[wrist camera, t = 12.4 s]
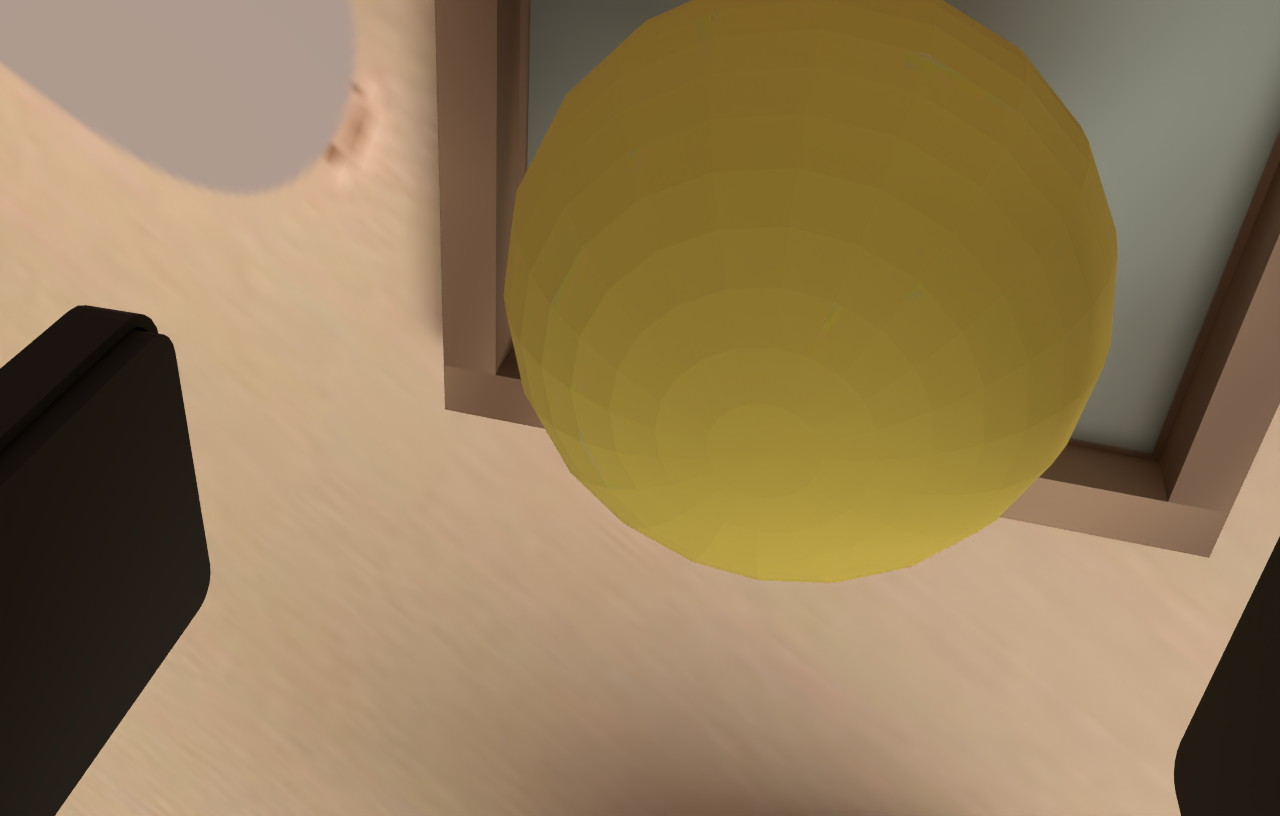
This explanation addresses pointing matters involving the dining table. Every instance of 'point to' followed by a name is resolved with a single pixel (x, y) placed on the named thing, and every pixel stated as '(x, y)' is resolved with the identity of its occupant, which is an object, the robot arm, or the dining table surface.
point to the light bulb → (811, 282)
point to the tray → (1133, 185)
